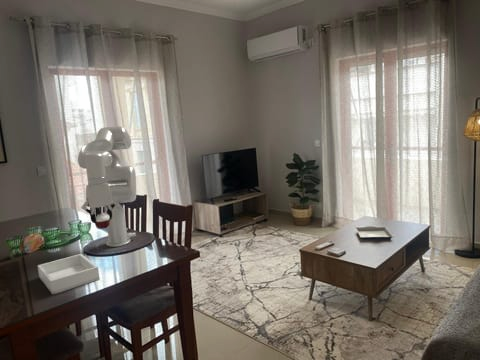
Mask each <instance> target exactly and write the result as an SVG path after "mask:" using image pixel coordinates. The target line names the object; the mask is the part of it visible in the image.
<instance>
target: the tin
mask: <svg viewBox="0 0 480 360" xmlns="http://www.w3.org/2000/svg"><path fill="white" fill-rule="evenodd" d="M45 242H46V237H45V234H43V233H42V232H35V233H32V234H30V235H28V236H26V237H23V238H22V239H21V241H20V243H19V248H20V251H21V252H22V253H24V254H31V253H34V252H35V251H38V250H40V248H39V247H40V246H41V245H42V244H44V245H45V244H46V243H45Z"/></svg>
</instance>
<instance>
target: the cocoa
mask: <svg viewBox="0 0 480 360" xmlns="http://www.w3.org/2000/svg"><path fill="white" fill-rule="evenodd" d="M95 212H96V214H97V216H96V215H95V217H96V223H94V224H95V227H97V229H99V230H101V229H107V227H108V226H109V223H110V219H109V218H110V216H109V215H108V214H107V213H105V212H101V209H100V207H98V208H95Z"/></svg>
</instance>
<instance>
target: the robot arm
mask: <svg viewBox="0 0 480 360" xmlns="http://www.w3.org/2000/svg"><path fill="white" fill-rule="evenodd" d="M131 147H132V138H131V136H130V134H129V132H128V130H127V129H126V128H125V127H123V126H107V127H106V126H105V127H101V128H100V129H99V130H98V132H97V134H96V137H95V139H94V140H92V141H90V142H88V143H87V144H85V145H83V146H82V147H81V148H80V150H79V153H78V156H77V163H78V166H79V167H80V168H82V169H86V176H87V178H86V179H87V185H86V186H85V201H84V203H83V204H82V206H81V209H82V210H83V211H85V212H87V213H88V214H89V217H90V222H92V223H93V224H95V223H96V214H95V212H96V209H95V208H98V207H99V208H102V207H104V213H107V214H108V215H109V216H110V218H109V219H110V223H109V226H108V227H107V228H106V229H107V236H108V237H107V238H108V240H107V241H106V242H105V245H106V246H107V247H112V248H113V247H114V248H115V247H121V246H125V245H127V244H128V245H129V244H130V242H131V237H132V238H133V237H136V236H137V234H136V231H135V232H127V231H128V230H127V223H126V222H127V221H126V215H125V210H124V209H125V208H123V206H122V205H121V204H123V203H133V202H134V201H136V199H137V179H136V178H137V175H136V171H135V168H134V167H133V166H131V165H122V158H121V157H120V155H118V154H117V153H116V152H115V151H114V150H117V151H119V150H128V149H130V148H131Z"/></svg>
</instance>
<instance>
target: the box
mask: <svg viewBox="0 0 480 360" xmlns="http://www.w3.org/2000/svg"><path fill="white" fill-rule="evenodd" d="M37 271H38V277H39V279H40V280H41V282H42V283H43V284H44V286H45V287H46V288H47V290H48V291H49V293H51V295H56V294H60V293H62V292H65V291H68V290H72V289H74V288H77V287H80V286H84V285H88V284H89V283H93V282H97V281H99V280H100V271H99V266H97V265H96V264H95V263H94V262H92V261H91V260H90V259H88V258H87V257H86V256H85V255H84V254H82V253H79V254H75V255H71V256H68V257H65V258H59V259H55V260H53V261H50V262H49V261H48V262H45V263H41V264H38V265H37Z"/></svg>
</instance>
